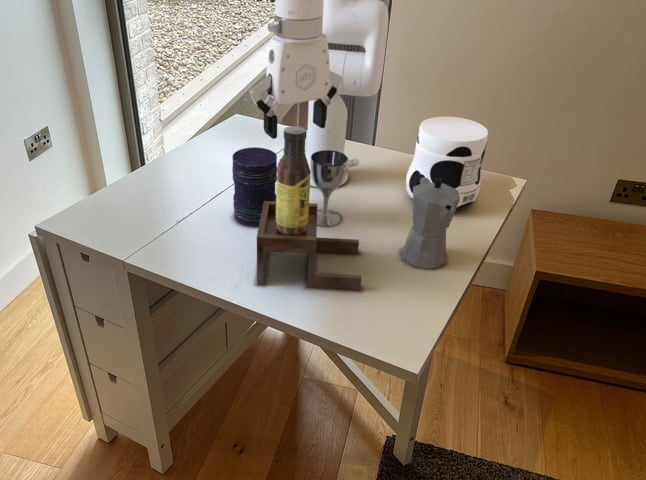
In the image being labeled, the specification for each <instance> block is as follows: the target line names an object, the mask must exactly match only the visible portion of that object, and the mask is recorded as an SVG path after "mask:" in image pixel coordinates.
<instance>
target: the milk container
mask: <svg viewBox="0 0 646 480" xmlns="http://www.w3.org/2000/svg"><path fill="white" fill-rule="evenodd" d="M416 137H417V138H416V140H415V146H414V154H413V159H412V162H411V164H410V165H409V168H408V170H407V173H406V177H405V190H406V193H407V196H408V197H409V198H411V200H413V187H414V179H415V178H416V177H417V176H418V175H419V174H423V175H424V176H425V178H428V179H429V180H430V183H434V179H435V178H441V179H443V182H442V183H443V184H446V185H448V186H450V187H452V188H454V189H456V190H458V192H459V197H460V200H459V203H458V205H457V208H456V210H455V211H457V210H462V209H465V208H467V207H470V206H471V205H472V204H473V203H474V202H475V201H476V199H477V198H478V195H479V193H480V190H481V185H482V173H481V171H482V164H483V160H484V157H485V154H486V148H487V145H488V138H489V131H488V128H487V127H485V126H484V125H483V124H481V123H479V122H478V121H475V120H471V119H468V118H464V117H458V116H445V115H443V116H433V117H430V118H426V119H424V120H423V121H422V122H421V123H420V125H419V128H418V131H417V136H416Z"/></svg>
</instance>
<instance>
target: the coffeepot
mask: <svg viewBox="0 0 646 480" xmlns="http://www.w3.org/2000/svg"><path fill="white" fill-rule="evenodd" d="M442 182H443V179H441V178H435V179H434V183H430V180H429V179H428V178H425V176H424V175H423V174H419V175H418V176H417V177H416V178H415V179H414V187H413V199H412V225H411V227H410V229H409V232H408V235H407V238H406V240H405V242H404V245H403V248H402V259H403V260H404V261H405V262H407V263H408V264H409V265H411V266H412V267H415V268H419V269H425V270H426V269H428V270H429V269H437V268H439V267H441V266H442V265H444V264H445V263H446V255H447V253H446V251H447V229H448V228H450V225H451V222H452V220H453V219H454V215H455V213H456V211H457V210H456V208H457V205H458V203H459V200H460V197H459V192H458V190H456V189H454V188H452V187H450V186H448V185H446V184H443V183H442Z"/></svg>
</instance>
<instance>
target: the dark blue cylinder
mask: <svg viewBox="0 0 646 480" xmlns="http://www.w3.org/2000/svg"><path fill="white" fill-rule="evenodd" d="M231 158H232V167H231V168H232V169H231V170H232V182H233V185H234V188H233V189H234V194H233V196H232V200H233V212H234V214H233V217H234V221H235V222H236V223H237V224H239V225H241V226H244V227H248V228H259V223H260V218H261V213H262V208H263V203H264V201H274V202H276V183H277V168H278V163H277V161H278V156H277V153H275V151H274V150H271V149H269V148H264V147H258V146H257V147H254V146H253V147H244V148H241V149H238V150H236V151H235V152H233V154H232V157H231Z"/></svg>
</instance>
